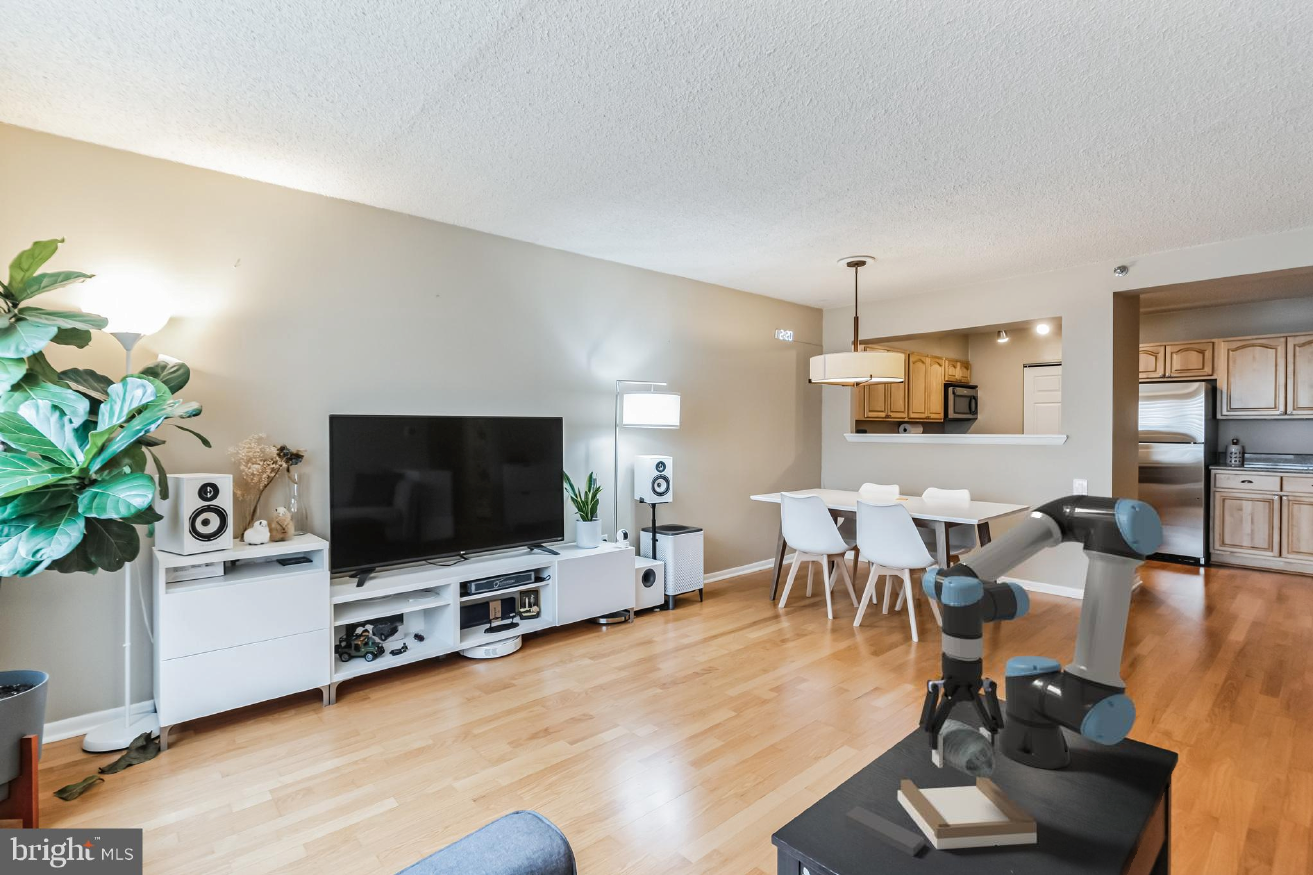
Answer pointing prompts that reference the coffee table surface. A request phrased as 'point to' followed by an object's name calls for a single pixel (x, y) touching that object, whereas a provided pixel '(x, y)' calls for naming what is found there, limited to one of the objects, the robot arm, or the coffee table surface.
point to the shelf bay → (967, 815)
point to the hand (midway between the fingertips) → (961, 763)
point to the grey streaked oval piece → (967, 749)
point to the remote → (885, 830)
